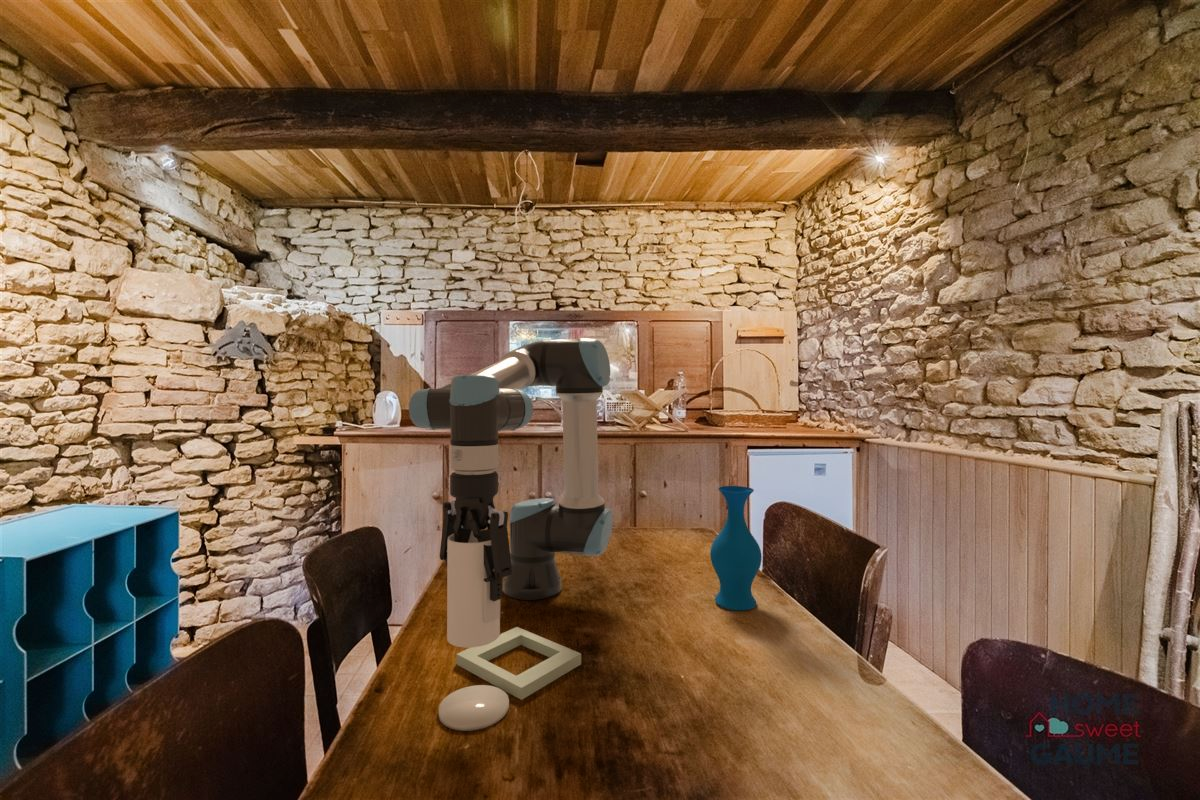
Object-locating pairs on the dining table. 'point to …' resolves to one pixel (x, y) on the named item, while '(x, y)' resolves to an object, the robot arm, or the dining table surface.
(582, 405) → the robot arm
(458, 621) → the cup
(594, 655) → the dining table surface
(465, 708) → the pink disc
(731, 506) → the vase
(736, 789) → the dining table surface
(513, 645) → the pale green rectangular frame
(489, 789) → the dining table surface
